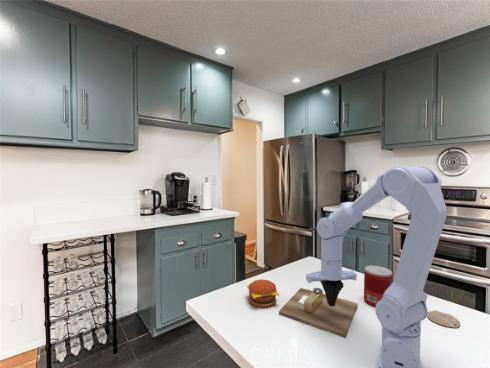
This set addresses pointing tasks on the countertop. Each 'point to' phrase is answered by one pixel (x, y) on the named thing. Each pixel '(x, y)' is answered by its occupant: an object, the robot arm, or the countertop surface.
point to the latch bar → (313, 300)
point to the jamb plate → (322, 313)
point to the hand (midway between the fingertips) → (331, 304)
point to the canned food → (376, 283)
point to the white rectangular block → (302, 302)
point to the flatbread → (443, 319)
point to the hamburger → (262, 293)
